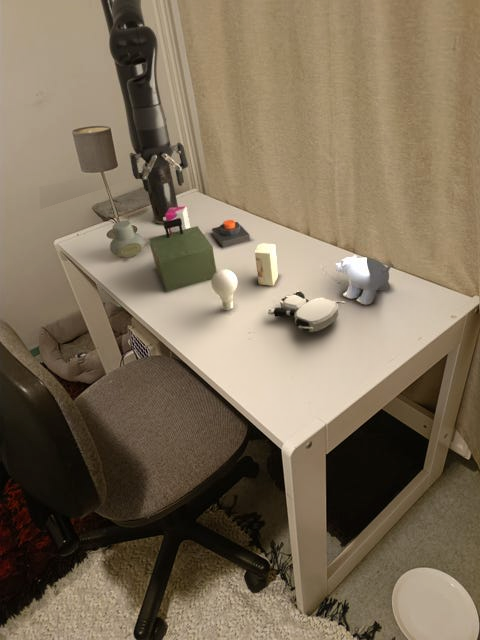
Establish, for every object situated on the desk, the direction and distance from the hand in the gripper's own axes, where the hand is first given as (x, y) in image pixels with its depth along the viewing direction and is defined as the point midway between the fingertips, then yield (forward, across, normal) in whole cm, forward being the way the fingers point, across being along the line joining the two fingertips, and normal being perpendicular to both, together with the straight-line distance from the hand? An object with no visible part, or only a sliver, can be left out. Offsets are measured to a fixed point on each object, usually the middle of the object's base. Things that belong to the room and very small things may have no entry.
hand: (164, 188), depth 118 cm
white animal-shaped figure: (+24, -38, +37) cm, 58 cm away
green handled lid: (+15, 0, +5) cm, 15 cm away
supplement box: (+24, -4, -14) cm, 28 cm away
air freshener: (+24, +13, -17) cm, 32 cm away
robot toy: (+24, -20, +41) cm, 52 cm away
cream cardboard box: (+24, -19, +21) cm, 37 cm away
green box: (+24, 0, +5) cm, 24 cm away
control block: (+24, -19, -9) cm, 31 cm away
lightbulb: (+24, -5, +28) cm, 37 cm away
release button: (+20, -19, -9) cm, 29 cm away
